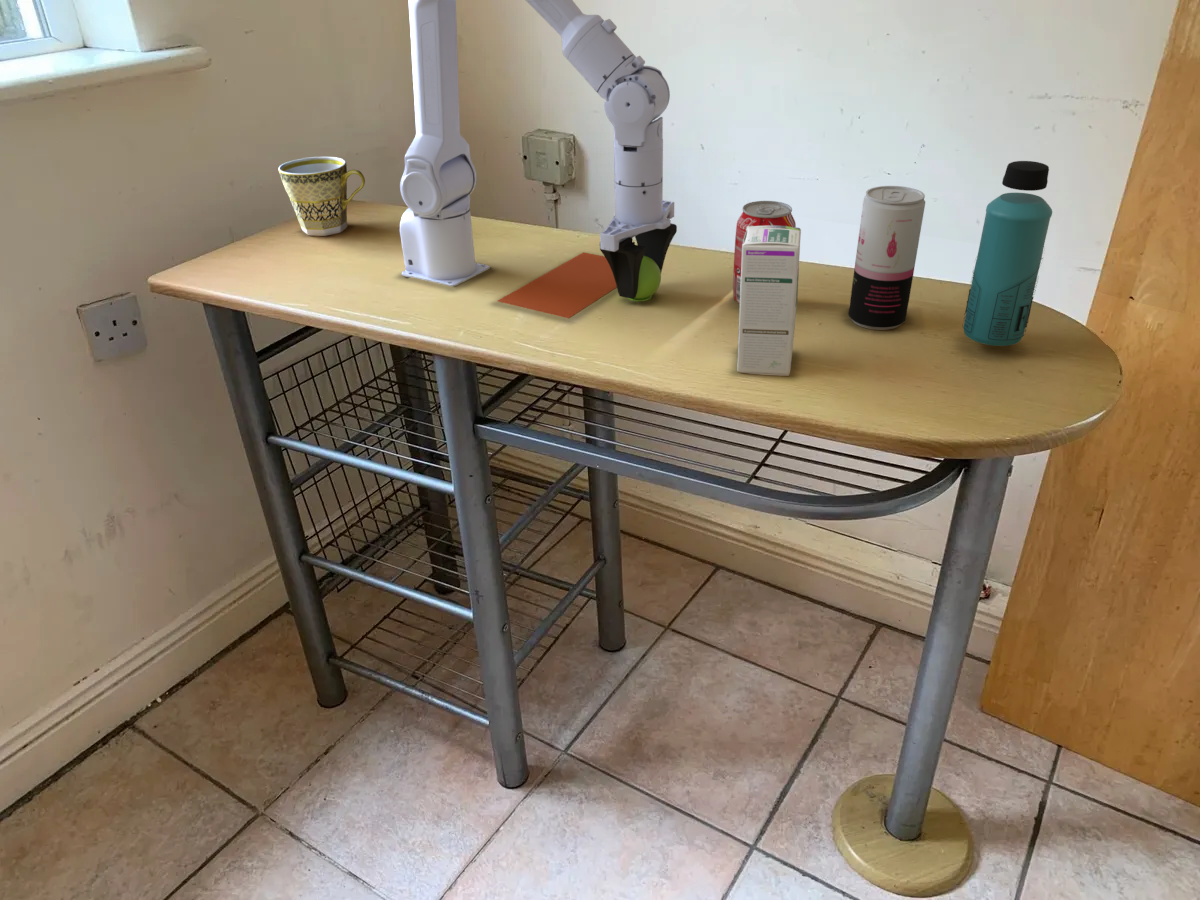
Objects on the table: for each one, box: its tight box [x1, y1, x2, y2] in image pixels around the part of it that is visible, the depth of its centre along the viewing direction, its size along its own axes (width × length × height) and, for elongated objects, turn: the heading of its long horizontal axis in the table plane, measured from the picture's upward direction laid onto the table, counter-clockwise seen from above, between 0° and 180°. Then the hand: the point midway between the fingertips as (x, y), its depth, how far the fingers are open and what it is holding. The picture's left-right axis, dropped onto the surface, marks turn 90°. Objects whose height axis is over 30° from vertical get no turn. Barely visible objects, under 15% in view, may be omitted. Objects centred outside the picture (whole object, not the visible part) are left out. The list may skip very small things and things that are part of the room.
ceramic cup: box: [277, 156, 366, 237], centre depth 138 cm, size 13×10×10 cm
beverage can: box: [848, 185, 926, 331], centre depth 102 cm, size 6×7×15 cm
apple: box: [627, 256, 662, 302], centre depth 112 cm, size 5×5×7 cm
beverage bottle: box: [962, 160, 1053, 347], centre depth 94 cm, size 6×7×20 cm
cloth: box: [497, 251, 617, 319], centre depth 118 cm, size 11×20×1 cm, turn 148°
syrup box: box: [736, 225, 802, 377], centre depth 94 cm, size 6×6×14 cm
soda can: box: [732, 200, 797, 305], centre depth 108 cm, size 7×7×12 cm
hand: (639, 288), depth 113 cm, fingers closed on apple, 5 cm apart
